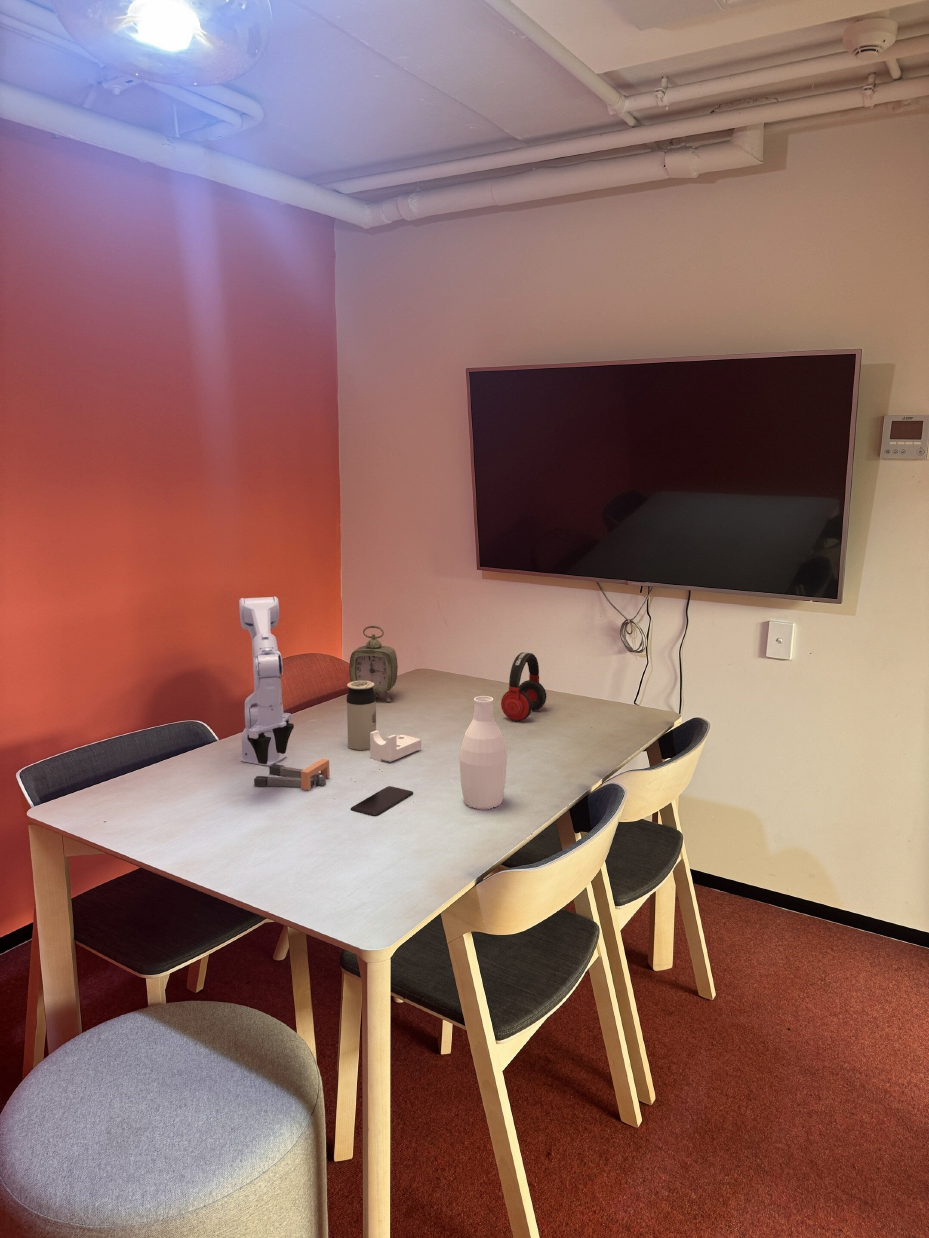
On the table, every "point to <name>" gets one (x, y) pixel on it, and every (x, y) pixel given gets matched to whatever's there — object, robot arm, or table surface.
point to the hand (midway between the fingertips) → (272, 758)
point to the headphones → (523, 689)
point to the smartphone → (382, 801)
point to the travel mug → (360, 714)
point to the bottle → (483, 758)
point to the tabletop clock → (374, 665)
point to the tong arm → (279, 781)
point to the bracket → (392, 746)
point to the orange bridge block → (314, 772)
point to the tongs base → (296, 773)
